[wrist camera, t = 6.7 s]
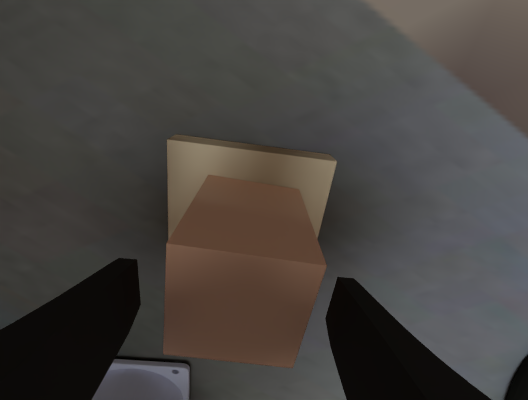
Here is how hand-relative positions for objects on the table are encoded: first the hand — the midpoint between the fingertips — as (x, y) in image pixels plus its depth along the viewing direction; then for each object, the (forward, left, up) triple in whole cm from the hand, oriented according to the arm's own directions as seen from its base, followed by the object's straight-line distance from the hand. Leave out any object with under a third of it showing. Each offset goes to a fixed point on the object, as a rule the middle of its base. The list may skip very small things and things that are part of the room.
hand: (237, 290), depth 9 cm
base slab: (0, 0, -7) cm, 7 cm away
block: (0, 0, -5) cm, 5 cm away
